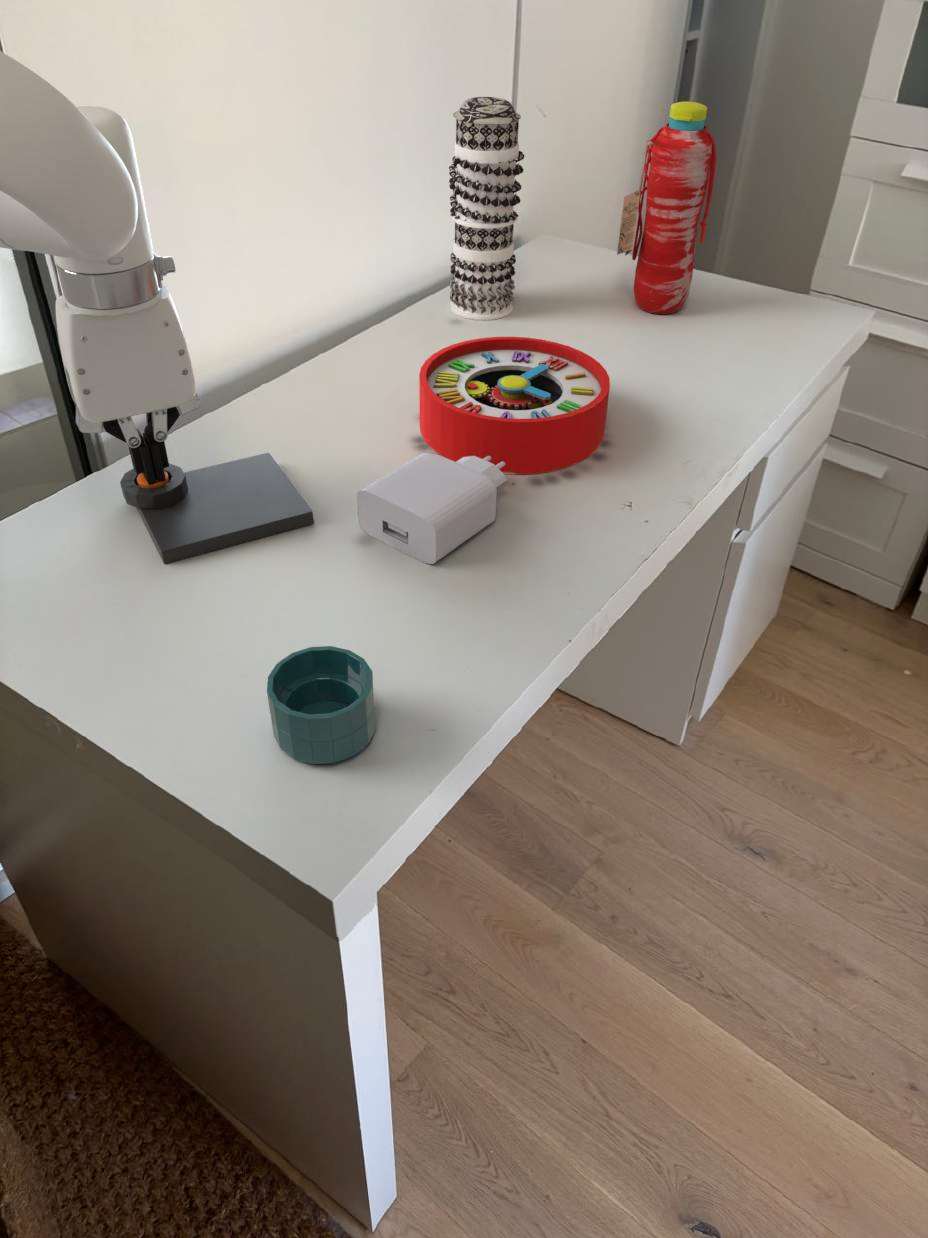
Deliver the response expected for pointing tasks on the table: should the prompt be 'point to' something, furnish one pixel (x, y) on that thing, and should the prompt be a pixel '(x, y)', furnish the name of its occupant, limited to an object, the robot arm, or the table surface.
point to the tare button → (144, 484)
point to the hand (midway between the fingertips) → (153, 475)
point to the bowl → (321, 704)
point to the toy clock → (513, 403)
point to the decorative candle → (484, 208)
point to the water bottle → (670, 209)
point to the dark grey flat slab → (217, 506)
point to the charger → (431, 504)
